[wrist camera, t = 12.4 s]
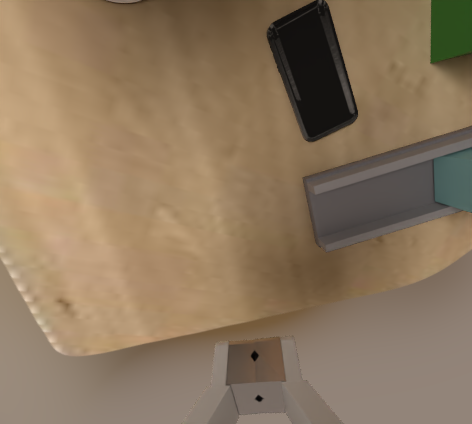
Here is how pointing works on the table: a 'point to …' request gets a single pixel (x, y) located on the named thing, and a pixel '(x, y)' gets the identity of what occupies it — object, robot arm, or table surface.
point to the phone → (313, 70)
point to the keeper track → (380, 192)
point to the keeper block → (454, 179)
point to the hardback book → (450, 29)
